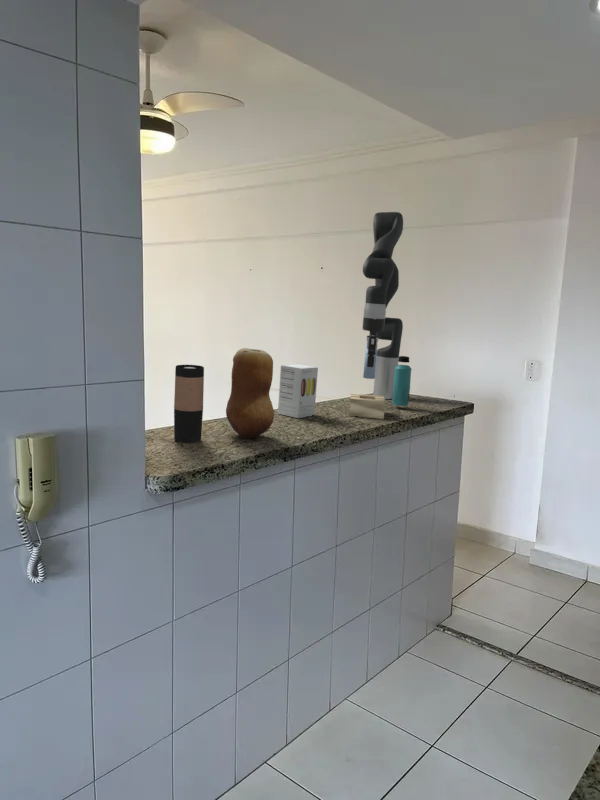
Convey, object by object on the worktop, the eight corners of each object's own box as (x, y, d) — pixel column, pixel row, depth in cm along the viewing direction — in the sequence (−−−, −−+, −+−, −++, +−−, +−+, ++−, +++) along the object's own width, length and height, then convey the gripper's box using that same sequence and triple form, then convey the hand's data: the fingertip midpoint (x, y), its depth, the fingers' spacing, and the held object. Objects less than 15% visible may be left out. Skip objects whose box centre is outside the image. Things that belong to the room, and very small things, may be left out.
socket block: (349, 409, 218) (350, 393, 217) (382, 412, 217) (383, 396, 216) (349, 416, 206) (350, 399, 205) (383, 418, 205) (385, 401, 204)
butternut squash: (282, 438, 168) (287, 351, 164) (245, 445, 159) (249, 352, 154) (250, 428, 178) (255, 345, 173) (214, 434, 168) (217, 346, 164)
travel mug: (167, 438, 161) (169, 365, 157) (191, 434, 166) (193, 364, 162) (183, 444, 155) (185, 369, 152) (207, 440, 161) (210, 367, 157)
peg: (363, 376, 211) (366, 343, 209) (374, 377, 211) (377, 344, 209) (363, 378, 207) (366, 344, 205) (374, 379, 207) (377, 344, 205)
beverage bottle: (409, 410, 224) (414, 357, 220) (392, 409, 224) (396, 356, 220) (406, 407, 230) (411, 355, 227) (389, 406, 230) (394, 354, 227)
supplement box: (297, 418, 196) (300, 368, 193) (276, 414, 202) (279, 364, 199) (315, 415, 204) (318, 366, 200) (294, 410, 209) (297, 363, 206)
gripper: (363, 315, 213) (359, 363, 216) (363, 316, 199) (359, 367, 202) (384, 317, 212) (380, 364, 215) (386, 318, 198) (381, 369, 201)
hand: (370, 365), depth 208 cm, fingers closed on peg, 4 cm apart
